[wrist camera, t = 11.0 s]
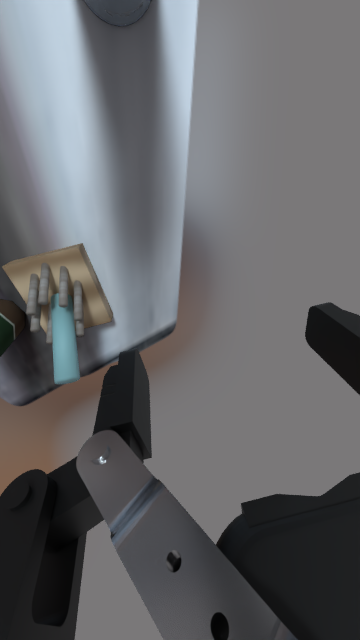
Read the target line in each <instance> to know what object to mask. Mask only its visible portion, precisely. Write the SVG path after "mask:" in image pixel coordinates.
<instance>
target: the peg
mask: <svg viewBox="0 0 360 640" xmlns="http://www.w3.org/2000/svg"><path fill="white" fill-rule="evenodd" d="M51 319H52V339H53V360H54V381H55V383H56V384H67V383H72V382H75V381H77V380H79V379H80V374H79V364H78V353H77V343H76V333H75V323H74V312H73V302H72V297H71V296H70V295H69V294H68V306H67V307H65V308H63V307H60V306H59V293H57V294H54V295H52V296H51Z"/></svg>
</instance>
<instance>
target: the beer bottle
mask: <svg viewBox="0 0 360 640" xmlns="http://www.w3.org/2000/svg"><path fill="white" fill-rule="evenodd" d="M24 327H25V312H23V311H22V310H21V309H20V308H19V307H18V306H17V305H16V304H15V303H14V302H12V301H8V300H3V299H0V357H1V355H2V354H3V353H4V352H5V351H6V349H7V348H8V347H9V346H10V345H11V343H12V342H13V341H14V340H15V339H16V337H17V336H18V335H19V334H20V333H21V331H22V330H23V329H24Z"/></svg>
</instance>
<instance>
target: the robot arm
mask: <svg viewBox="0 0 360 640" xmlns="http://www.w3.org/2000/svg"><path fill="white" fill-rule="evenodd" d="M84 1H85V3H86V4H87V5H88V6H89V8H90V9H91V10H92V11H93V12H94V13H95V14H96V15H97V16H98V17H100V18H101V19H102V20H104V21H106V22H108V23H109V24H113V25H117V26H126V25H129V24H132V23H134V22H136V21H137V20H138V19H139V18H140V17H142V15H143V14H144V12H145V11H146V10H147V8H148V6H149V4H150V1H151V0H84ZM305 337H306V340H307V343H308V344H309V346H310V347H311V348H312V349H313V350H314V351H315V352H316V353H317V354H318V355H320V357H321V358H322V359H323V360H324V361H325V362H327V364H328V365H330V366H331V367H332V368H333V369H334V370H335V371H336V372H337V373H338V374H339V375H340V376H341V377H342V378H343V379H344V380H345V381H346V382H347V383H348V384H349V385H350V386H351V387H352V388H353V389H354V390H355V391H356V392H357V393H358V394H360V316H359V315H357V314H354V313H351V312H348V311H345V310H342V309H340V308H339V307H337V306H336V305H334V304H333V303H324V304H320V305H316V306H312V307H310V309H309V312H308V319H307V326H306V332H305ZM102 387H103V389H102V391H101V398H100V401H99V406H98V411H97V416H96V422H95V426H94V431H93V435H92V436H91V437H90V438H89V439H88V440H87V441H86V442H85V443H84V444H83V446H82V448H81V449H80V451H79V453H78V456H77V457H75V458H74V459H72V460H71V461H69V462H67V463H66V464H64V465H62V466H61V467H59V468H58V469H55V470H54V471H52V472H50V473H49V474H46V473H45V472H43V471H42V470H39V469H34V470H30V471H27V472H25V473H23V474H22V475H20V476H19V477H17V478H16V479H15V480H14V481H12V482H11V484H9V486H8V487H7V488H6V489H5V490H4V492H3V493H2V494H1V496H0V640H74V638H75V630H76V621H77V612H78V603H79V595H80V586H81V578H82V568H83V560H84V552H85V543H86V534H87V531H89V530H90V529H91V528H93V527H94V526H96V525H97V524H98V523H100V522H101V521H103V520H105V522H106V523H107V525H108V527H109V529H110V531H111V540H112V542H113V545H114V547H115V549H116V551H117V553H118V555H119V557H120V559H121V561H122V563H123V565H124V566H125V568H126V570H127V572H128V574H129V576H130V578H131V579H132V581H133V583H134V585H135V587H136V589H137V591H138V593H139V594H140V596H141V598H142V600H143V602H144V604H145V606H146V607H147V609H148V611H149V613H150V615H151V617H152V619H153V620H154V622H155V624H156V626H157V628H158V630H159V632H160V633H161V636H162V637H163V639H164V640H360V473H356V474H352V475H349V476H348V477H347V478H345V479H344V480H343V481H341V482H340V483H338V484H337V485H336V486H334V487H333V488H332V489H330V490H329V491H327V492H326V493H325V494H323V495H321V496H301V495H285V494H284V495H283V494H275V495H271V496H267V497H263V498H260V499H256V500H252V501H248V502H244V503H241V507H242V514H241V515H240V516H238V517H236V518H235V519H234V520H233V521H232V522H231V523H230V524H229V525H228V527H227V528H226V529H225V530H224V532H223V533H222V535H221V537H220V538H219V540H218V542H217V544H216V545H215V544H214V542H213V541H212V540H211V539H210V538H209V537H208V536H207V534H206V533H205V532H204V531H203V530H202V528H201V527H200V526H199V525H198V524H197V523H196V522H195V520H194V519H193V518H192V517H191V516H190V515H189V514H188V512H187V511H186V510H185V509H184V508H183V506H182V505H181V504H180V503H179V502H178V500H177V499H176V498H175V497H174V496H173V495H172V494H171V492H170V491H169V490H168V489H167V488H166V487H165V486H164V485H163V483H162V482H161V481H160V480H157V479H156V478H155V477H154V476H153V475H152V474H151V472H150V471H149V470H148V469H147V468H146V466H145V465H144V464H143V460H144V459H148V458H151V456H152V453H151V424H150V394H149V380H148V376H147V372H146V369H145V367H144V364H143V362H142V359H141V357H140V354H139V351H138V349H132V350H128V351H124V352H120V354H119V361H118V365H115V366H111V367H110V368H109V370H108V371H107V373H106V375H105V376H104V380H103V385H102Z"/></svg>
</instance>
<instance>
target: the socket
mask: <svg viewBox="0 0 360 640" xmlns="http://www.w3.org/2000/svg"><path fill="white" fill-rule="evenodd" d="M2 267H3V269H4V270H5V272H6V273H7V275H8V276H9V278H10V279H11V281H12V282H13V284H14V285H15V287H16V288H17V290H18V291H19V293H20V294H21V296H22V297H23V299H24V300H25V302H26V303H27V311H26V314H27V315H30V316H32V318H31V328H30V331H31V332H39V331H40V325H41V326H42V328H43V329H44V331H45V332H46V334H47V341H46V343H47V344H53V339H52V319H51V296H52V295H54V294H57V293H59V306H60V307H63V308H65V307H67V306H68V294H69V295H70V296H71V297H72V302H73V312H74V323H75V331H76V336H77V337H82V336H84V329H85V328H88V327H92V326H96V325H100V324H104V323H108V322H111V321H112V317H113V312H112V310H111V308H110V305H109V303H108V301H107V298H106V296H105V294H104V292H103V289H102V287H101V285H100V282H99V280H98V278H97V275H96V273H95V271H94V269H93V266H92V264H91V262H90V259H89V257H88V255H87V253H86V250H85V248H84V246H83V243H81V244H77V245H73V246H69V247H66V248H62V249H58V250H54V251H50V252H46V253H42V254H38V255H34V256H30V257H26V258H22V259H18V260H14V261H11V262H9V263H8V264H6V265H4V266H2Z"/></svg>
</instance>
